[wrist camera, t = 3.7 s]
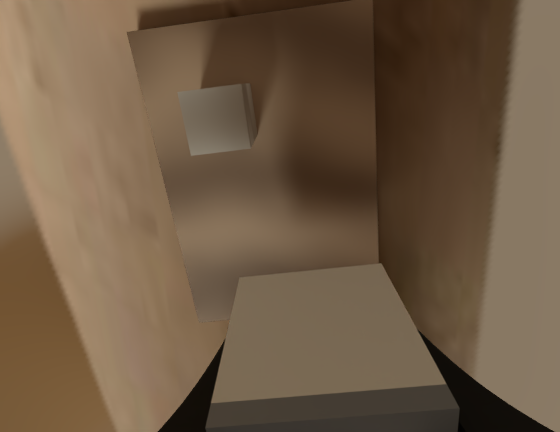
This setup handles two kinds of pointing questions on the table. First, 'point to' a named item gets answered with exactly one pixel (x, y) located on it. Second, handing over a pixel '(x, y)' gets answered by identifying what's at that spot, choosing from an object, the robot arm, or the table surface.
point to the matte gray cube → (327, 358)
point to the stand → (265, 142)
